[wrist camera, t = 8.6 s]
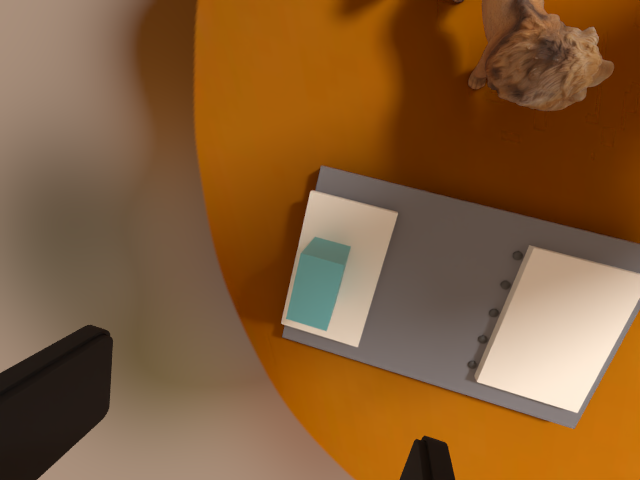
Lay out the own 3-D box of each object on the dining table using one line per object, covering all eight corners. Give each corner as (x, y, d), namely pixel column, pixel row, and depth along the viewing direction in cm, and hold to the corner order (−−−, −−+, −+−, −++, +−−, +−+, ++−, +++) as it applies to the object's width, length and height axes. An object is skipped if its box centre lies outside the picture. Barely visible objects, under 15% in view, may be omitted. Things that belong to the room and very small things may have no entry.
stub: (397, 211, 26) (402, 225, 20) (358, 342, 29) (353, 385, 23) (312, 190, 27) (294, 197, 21) (283, 319, 30) (261, 355, 24)
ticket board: (653, 247, 25) (680, 255, 23) (564, 415, 29) (579, 436, 27) (324, 165, 28) (318, 166, 26) (286, 329, 32) (279, 341, 30)
